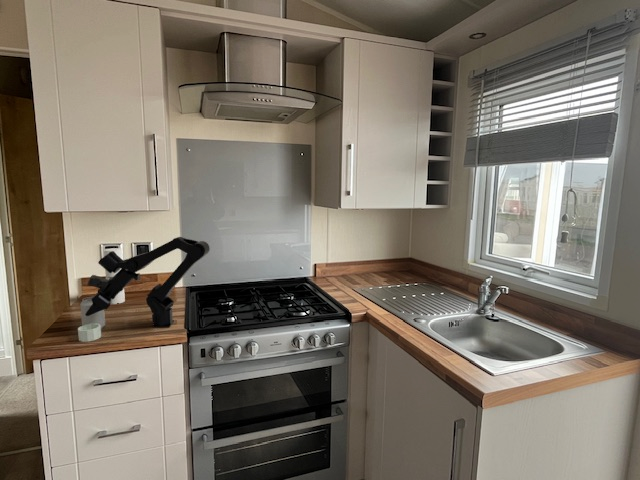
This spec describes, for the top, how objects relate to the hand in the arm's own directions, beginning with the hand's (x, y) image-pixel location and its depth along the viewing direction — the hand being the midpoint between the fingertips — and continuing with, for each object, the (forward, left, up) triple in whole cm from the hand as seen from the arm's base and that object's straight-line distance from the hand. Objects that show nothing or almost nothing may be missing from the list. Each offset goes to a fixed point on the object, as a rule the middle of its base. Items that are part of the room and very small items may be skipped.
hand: (88, 312), depth 137 cm
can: (-1, 0, -7) cm, 7 cm away
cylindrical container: (+5, -33, -7) cm, 34 cm away
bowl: (-4, +9, -7) cm, 12 cm away
